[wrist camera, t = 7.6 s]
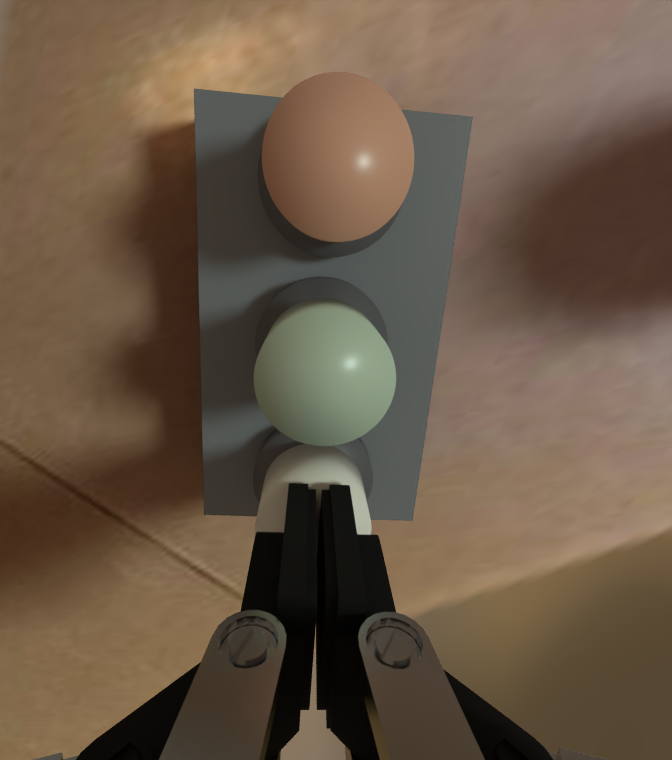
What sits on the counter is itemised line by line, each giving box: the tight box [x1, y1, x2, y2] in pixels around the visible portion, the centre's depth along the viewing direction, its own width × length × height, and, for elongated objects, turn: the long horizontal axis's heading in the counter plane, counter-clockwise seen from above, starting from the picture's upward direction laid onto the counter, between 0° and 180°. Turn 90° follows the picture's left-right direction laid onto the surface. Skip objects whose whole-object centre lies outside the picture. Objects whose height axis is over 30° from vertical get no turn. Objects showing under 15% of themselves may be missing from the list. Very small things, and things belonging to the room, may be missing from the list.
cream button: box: [255, 444, 372, 549], centre depth 13 cm, size 3×3×2 cm
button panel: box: [194, 89, 473, 521], centre depth 14 cm, size 13×8×3 cm, turn 176°
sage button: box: [254, 298, 396, 446], centre depth 11 cm, size 3×3×2 cm
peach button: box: [262, 72, 414, 242], centre depth 10 cm, size 3×3×2 cm
